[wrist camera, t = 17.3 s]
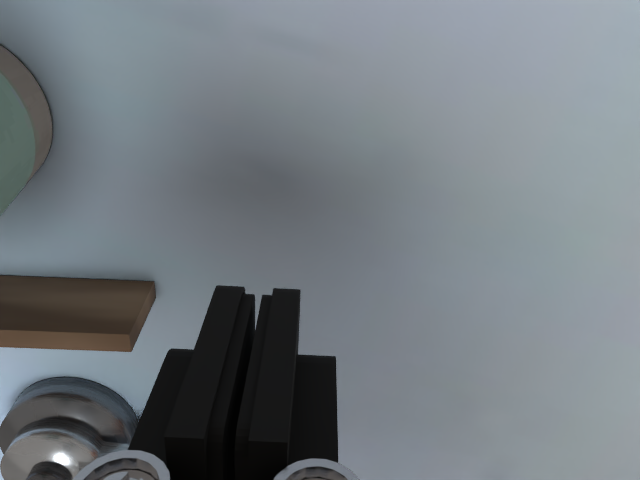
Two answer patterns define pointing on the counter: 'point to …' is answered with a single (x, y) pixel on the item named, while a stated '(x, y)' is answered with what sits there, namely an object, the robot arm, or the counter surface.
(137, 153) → the counter surface
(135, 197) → the counter surface
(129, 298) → the brown wooden u-shaped frame
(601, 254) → the counter surface
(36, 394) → the crank base
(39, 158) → the coffee cup
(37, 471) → the crank
